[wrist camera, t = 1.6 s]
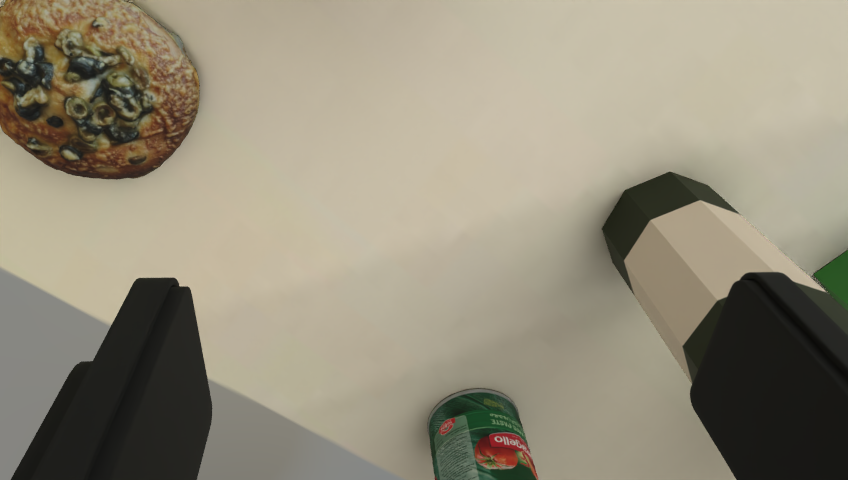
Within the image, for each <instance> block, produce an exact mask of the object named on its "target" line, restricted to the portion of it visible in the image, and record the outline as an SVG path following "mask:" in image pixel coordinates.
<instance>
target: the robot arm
mask: <svg viewBox="0 0 848 480" xmlns="http://www.w3.org/2000/svg"><path fill="white" fill-rule="evenodd" d="M690 398H691V403H692V406H693V408H694V410H695V412H696V413H697V415H698V417H699V418H700V420H701V422H702V423H703V425H704V427H705V428H706V430H707V432H708V433H709V435H710V436H711V438H712V440H713V441H714V443H715V445H716V446H717V448H718V450H719V451H720V453H721V455H722V456H723V458H724V460H725V461H726V463H727V464H728V466H729V468H730V469H731V471H732V473H733V474H734V476H735V478H736V479H737V480H848V335H847V334H846V333H845V332H844V331H843V330H842V329H841V328H840V327H839V326H838V325H837V324H836V323H835V322H834V321H833V320H832V319H831V318H830V317H829V316H828V315H827V314H826V313H825V312H824V311H823V310H822V309H821V308H820V307H819V306H818V305H817V304H816V303H815V302H814V301H813V300H812V299H810V298H809V297H808V296H807V295H806V294H805V293H804V292H803V291H802V290H801V289H800V288H799V287H798V286H797V285H796V284H795V283H794V282H793V281H792V280H791V279H790V278H789V277H788V276H787V275H785V274H784V273H781V272H749V273H745V274H744V275H743V276H742V277H741V279H740V280H739V281H736V282H735V283H733V285H732V287H731V289H730V291H729V294H728V296H727V299H726V301H725V304H724V306H723V309H722V311H721V314H720V316H719V319H718V321H717V324H716V326H715V329H714V331H713V334H712V336H711V339H710V341H709V344H708V346H707V349H706V351H705V354H704V356H703V359H702V361H701V364H700V366H699V369H698V371H697V374H696V376H695V379H694V381H693V384H692V387H691V390H690ZM211 420H212V402H211V396H210V391H209V386H208V381H207V375H206V369H205V364H204V358H203V353H202V348H201V342H200V337H199V331H198V326H197V321H196V315H195V310H194V304H193V299H192V294H191V290H190V288H189V287H179V283H178V281H177V279H175V278H138V279H136V281H135V282H134V283H133V285H132V287H131V289H130V291H129V293H128V295H127V297H126V299H125V301H124V302H123V304H122V306H121V308H120V310H119V312H118V314H117V316H116V318H115V320H114V322H113V324H112V325H111V327H110V329H109V331H108V333H107V335H106V337H105V339H104V341H103V343H102V345H101V347H100V348H99V350H98V352H97V354H96V356H95V358H94V360H93V361H90V362H80V363H79V364H77V365H76V366H75V367H74V368H73V370H72V371H71V373H70V374H69V376H68V377H67V379H66V381H65V383H64V385H63V386H62V389H61V390H60V392H59V394H58V396H57V397H56V399H55V401H54V403H53V405H52V407H51V408H50V410H49V412H48V414H47V415H46V417H45V419H44V421H43V423H42V424H41V426H40V428H39V430H38V432H37V433H36V435H35V437H34V439H33V441H32V442H31V444H30V446H29V448H28V450H27V451H26V453H25V455H24V457H23V459H22V460H21V462H20V464H19V466H18V468H17V470H16V471H15V473H14V475H13V477H12V479H11V480H197V476H198V472H199V468H200V464H201V461H202V457H203V453H204V449H205V445H206V441H207V437H208V433H209V430H210V425H211Z"/></svg>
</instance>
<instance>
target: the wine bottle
mask: <svg viewBox="0 0 848 480" xmlns="http://www.w3.org/2000/svg"><path fill="white" fill-rule="evenodd" d="M602 230H603V233H604V237H605V240H606V243H607V246H608V249H609V252H610V255H611V259H612V262H613V264H614V265H615V267H616V268H617V270H618V271H619V273H620V274H621V276H622V277H623V279H624V280H625V282H626V283H627V285H628V287H629V288H630V290H631V291H632V293H633V294H634V296H635V297H636V299H637V300H638V302H639V303H640V305H641V307H642V308H643V310H644V311H645V313H646V314H647V316H648V317H649V319H650V320H651V322H652V323H653V325H654V326H655V328H656V330H657V331H658V333H659V334H660V336H661V337H662V339H663V340H664V342H665V343H666V345H667V346H668V348H669V349H670V351H671V353H672V354H673V356H674V357H675V359H676V360H677V362H678V363H679V365H680V366H681V368H682V369H683V371H684V373H685V374H686V376H687V377H688V379H689V380H690V382H691V383H692V384H693V381H694V379H695V376H696V374H697V371H698V369H699V366H700V364H701V361H702V359H703V356H704V354H705V351H706V349H707V346H708V344H709V341H710V339H711V336H712V334H713V331H714V329H715V326H716V324H717V321H718V319H719V316H720V314H721V311H722V309H723V306H724V304H725V301H726V299H727V296H728V294H729V291H730V289H731V287H732V285H733V283H735V282H736V281H739V280H740V279H741V277H742V276H743V275H744V274H745V273H749V272H781V273H784V274H785V275H787V276H788V277H789V278H790V279H791V280H792V281H793V282H794V283H795V284H796V285H797V286H798V287H799V288H800V289H801V290H802V291H803V292H804V293H805V294H806V295H807V296H808V297H809V298H810V299H812V300H813V301H814V302H815V303H816V304H817V305H818V306H819V307H820V308H821V309H822V310H823V311H824V312H825V313H826V314H827V315H828V316H829V317H830V318H831V319H832V320H833V321H834V322H835V323H836V324H837V325H838V326H839V327H840V328H841V329H842V330H843V331H844V332H845V333H846V334H847V335H848V311H847V310H846V309H845V308H844V307H843V306H841V305H840V304H839V303H838V302H837V301H836V300H835V299H834V298H833V297H831V296H830V295H829V294H828V293H827V292H826V291H825V290H824V289H823V288H821V287H820V286H819V285H818V284H817V283H816V282H815V281H814V280H813V279H811V278H810V277H809V276H808V275H807V274H806V273H805V272H804V271H803V270H801V269H800V268H799V267H798V266H797V265H796V264H795V263H794V262H793V261H791V260H790V259H789V258H788V257H787V256H786V255H785V254H784V253H783V252H781V251H780V250H779V249H778V248H777V247H776V246H775V245H774V244H773V243H771V242H770V241H769V240H768V239H767V238H766V237H765V236H764V235H763V234H761V233H760V232H759V231H758V230H757V229H756V228H755V227H754V226H752V225H751V224H750V223H749V222H748V221H747V220H746V219H745V218H744V217H742V216H741V215H740V214H739V213H738V212H737V211H736V210H735V209H734V208H732V207H731V206H730V205H729V204H728V203H727V202H726V201H725V200H724V199H722V198H721V197H720V196H719V195H718V194H717V193H716V192H715V191H714V190H712V189H711V188H710V187H709V186H708V185H705V184H702V183H700V182H697V181H694V180H692V179H689V178H686V177H683V176H681V175H678V174H675V173H672V172H669V173H666V174H664V175H661V176H659V177H656V178H654V179H652V180H649V181H647V182H644V183H642V184H639V185H637V186H635V187H632V188H630V189H627V190H625V192H624V193H623V195H622V197H621V198H620V200H619V201H618V203H617V205H616V206H615V208H614V210H613V211H612V213H611V215H610V216H609V218H608V220H607V221H606V223H605V224H604V226H603V228H602Z"/></svg>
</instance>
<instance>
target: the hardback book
mask: <svg viewBox="0 0 848 480" xmlns="http://www.w3.org/2000/svg"><path fill="white" fill-rule="evenodd" d="M814 276H815V277H816V278H817V279H818V280H819V282H820V283H821V284H822V285H823V286H824V288H825V289H826V290H827V291H828V292H829V294H830V295H831V296H832V297H833V298H834V299H835V300H836V301H837V302H838V303H839V304H840V305H841V306H843V307H844V308H845V309H846V310H847V311H848V250H847V251H846V252H845V253H843V254H842V255H840V256H839V257H837V258H836V259H835V260H833V261H832V262H830V263H829V264H828V265H826V266H825V267H823V268H822V269H820V270H819V271H818V272H816V273H815V274H814Z"/></svg>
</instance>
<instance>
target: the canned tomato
mask: <svg viewBox="0 0 848 480" xmlns="http://www.w3.org/2000/svg"><path fill="white" fill-rule="evenodd" d="M428 433H429V437H430V448H431V454H432V460H433V467H434V474H435V480H538V476H537V473H536V470H535V466H534V464H533V460H532V457H531V454H530V450H529V448H528V444H527V440H526V437H525V433H524V431H523V427H522V424H521V421H520V418H519V413H518V409H517V407H516V406H515V404H514V402H513V401H512V400H511V399H510V398H508V397H507V396H505V395H504V394H502V393H499V392H497V391H493V390H488V389H471V390H465V391H461V392H458V393H456V394H453V395H451V396H449V397H447V398H446V399H444V400H443V401H441V402H440V403H439V404H438V405H437V406H436V407H435V408H434V410H433V411H432V412H431V414H430V416H429V420H428Z"/></svg>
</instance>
